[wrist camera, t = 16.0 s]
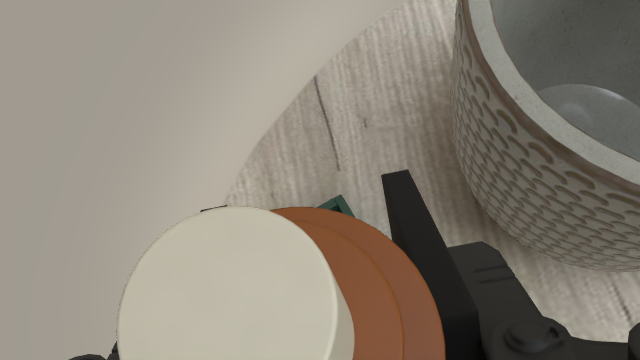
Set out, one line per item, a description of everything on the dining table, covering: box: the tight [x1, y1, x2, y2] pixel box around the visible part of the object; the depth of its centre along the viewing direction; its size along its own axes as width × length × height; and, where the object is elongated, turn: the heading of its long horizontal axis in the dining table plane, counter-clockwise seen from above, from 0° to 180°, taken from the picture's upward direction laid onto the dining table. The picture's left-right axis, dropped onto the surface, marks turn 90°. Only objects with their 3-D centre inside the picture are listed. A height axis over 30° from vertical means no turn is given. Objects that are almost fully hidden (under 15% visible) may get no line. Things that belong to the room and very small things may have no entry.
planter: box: [451, 0, 640, 272], centre depth 30 cm, size 20×20×19 cm
